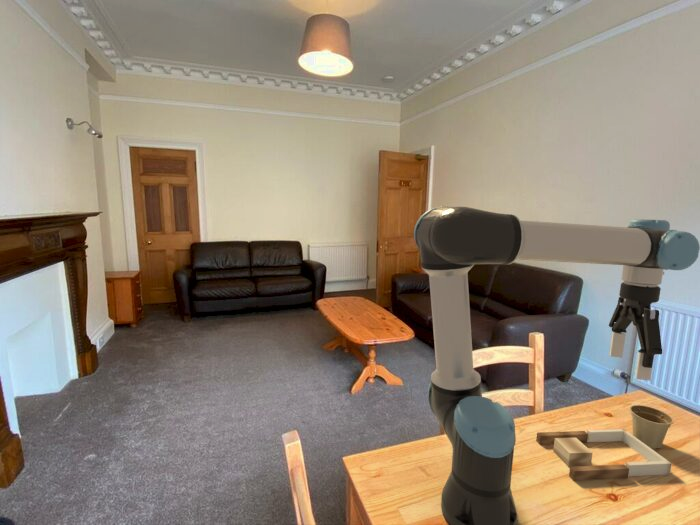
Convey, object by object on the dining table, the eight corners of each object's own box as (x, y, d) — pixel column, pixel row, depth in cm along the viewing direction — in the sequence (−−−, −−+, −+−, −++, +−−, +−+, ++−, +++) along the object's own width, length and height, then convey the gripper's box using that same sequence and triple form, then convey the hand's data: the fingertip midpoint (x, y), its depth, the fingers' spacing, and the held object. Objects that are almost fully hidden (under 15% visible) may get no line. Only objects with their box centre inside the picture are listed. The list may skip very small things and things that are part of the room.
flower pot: (677, 456, 95) (682, 426, 94) (637, 450, 97) (641, 421, 96) (655, 434, 104) (659, 407, 103) (619, 430, 106) (622, 403, 105)
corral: (628, 476, 87) (629, 465, 87) (586, 439, 101) (587, 430, 101) (669, 474, 88) (671, 463, 88) (622, 438, 102) (624, 428, 102)
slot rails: (573, 480, 86) (574, 471, 85) (536, 440, 101) (537, 432, 100) (627, 478, 87) (629, 468, 87) (583, 438, 102) (584, 430, 101)
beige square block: (568, 467, 90) (569, 453, 90) (553, 451, 96) (554, 438, 96) (590, 466, 91) (592, 452, 90) (574, 451, 97) (576, 437, 96)
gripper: (693, 296, 73) (676, 393, 77) (632, 276, 97) (621, 350, 100) (650, 293, 75) (636, 388, 78) (601, 274, 99) (591, 347, 102)
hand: (628, 367), depth 89 cm, fingers open, 13 cm apart
